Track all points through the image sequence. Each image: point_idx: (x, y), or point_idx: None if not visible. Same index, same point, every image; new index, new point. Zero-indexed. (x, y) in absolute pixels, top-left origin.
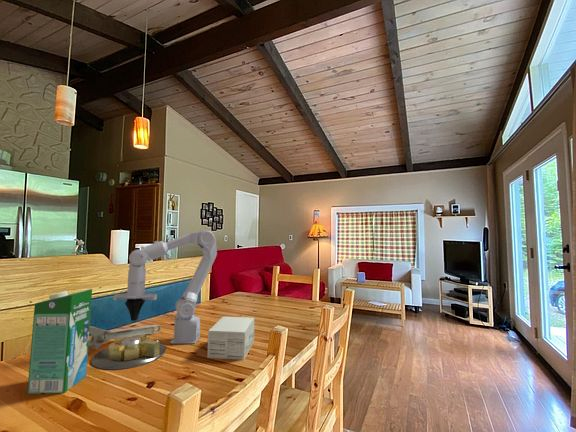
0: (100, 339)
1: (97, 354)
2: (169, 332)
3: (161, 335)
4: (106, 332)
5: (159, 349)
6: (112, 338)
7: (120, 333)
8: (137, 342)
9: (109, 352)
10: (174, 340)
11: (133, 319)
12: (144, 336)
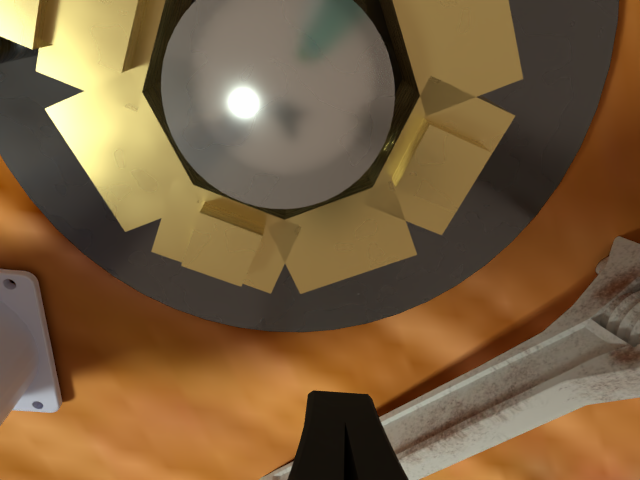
0: (635, 297)
1: (588, 84)
2: (161, 477)
3: (196, 435)
4: (621, 358)
5: (43, 132)
6: (533, 342)
7: (487, 399)
8: (177, 32)
9: None
10: (6, 308)
11: (334, 403)
12: (191, 241)
